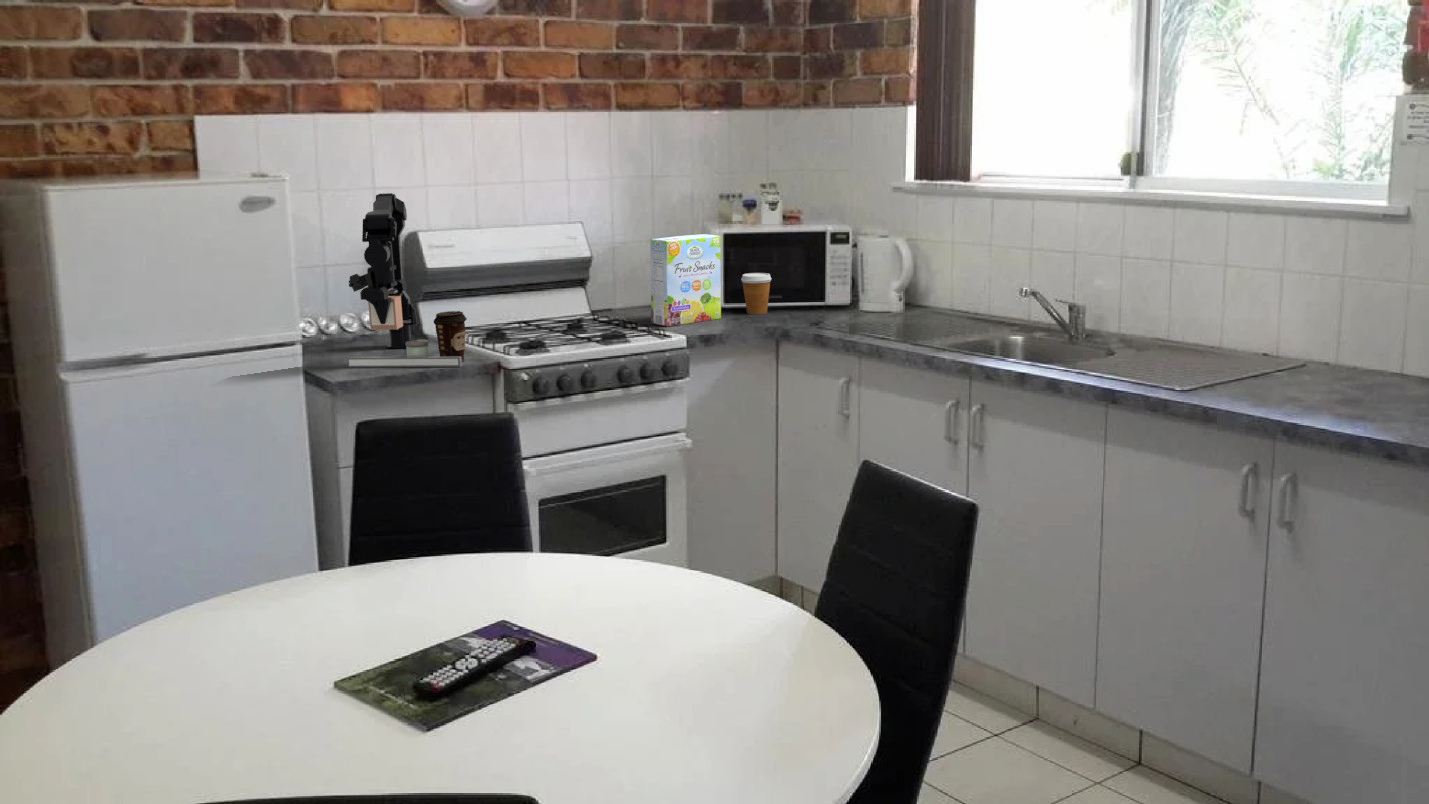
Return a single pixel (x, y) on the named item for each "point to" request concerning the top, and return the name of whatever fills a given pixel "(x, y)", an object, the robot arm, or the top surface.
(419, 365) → the rail
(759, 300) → the disposable coffee cup
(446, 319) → the coffee cup
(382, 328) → the tea box
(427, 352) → the spice jar
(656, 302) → the snack box
